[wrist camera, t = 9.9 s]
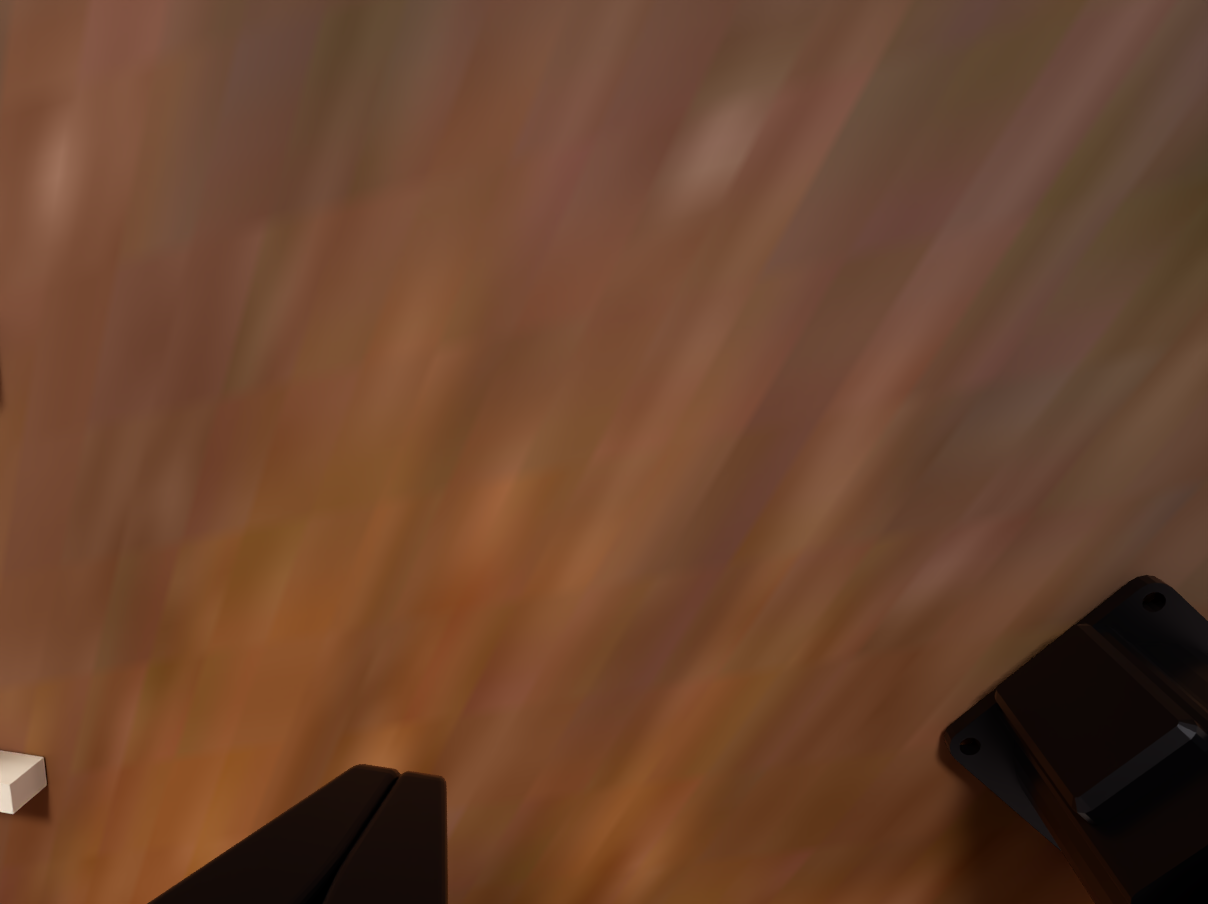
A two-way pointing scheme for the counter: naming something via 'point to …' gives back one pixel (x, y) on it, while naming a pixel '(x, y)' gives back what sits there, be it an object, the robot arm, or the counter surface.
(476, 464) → the counter surface
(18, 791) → the lane frame
